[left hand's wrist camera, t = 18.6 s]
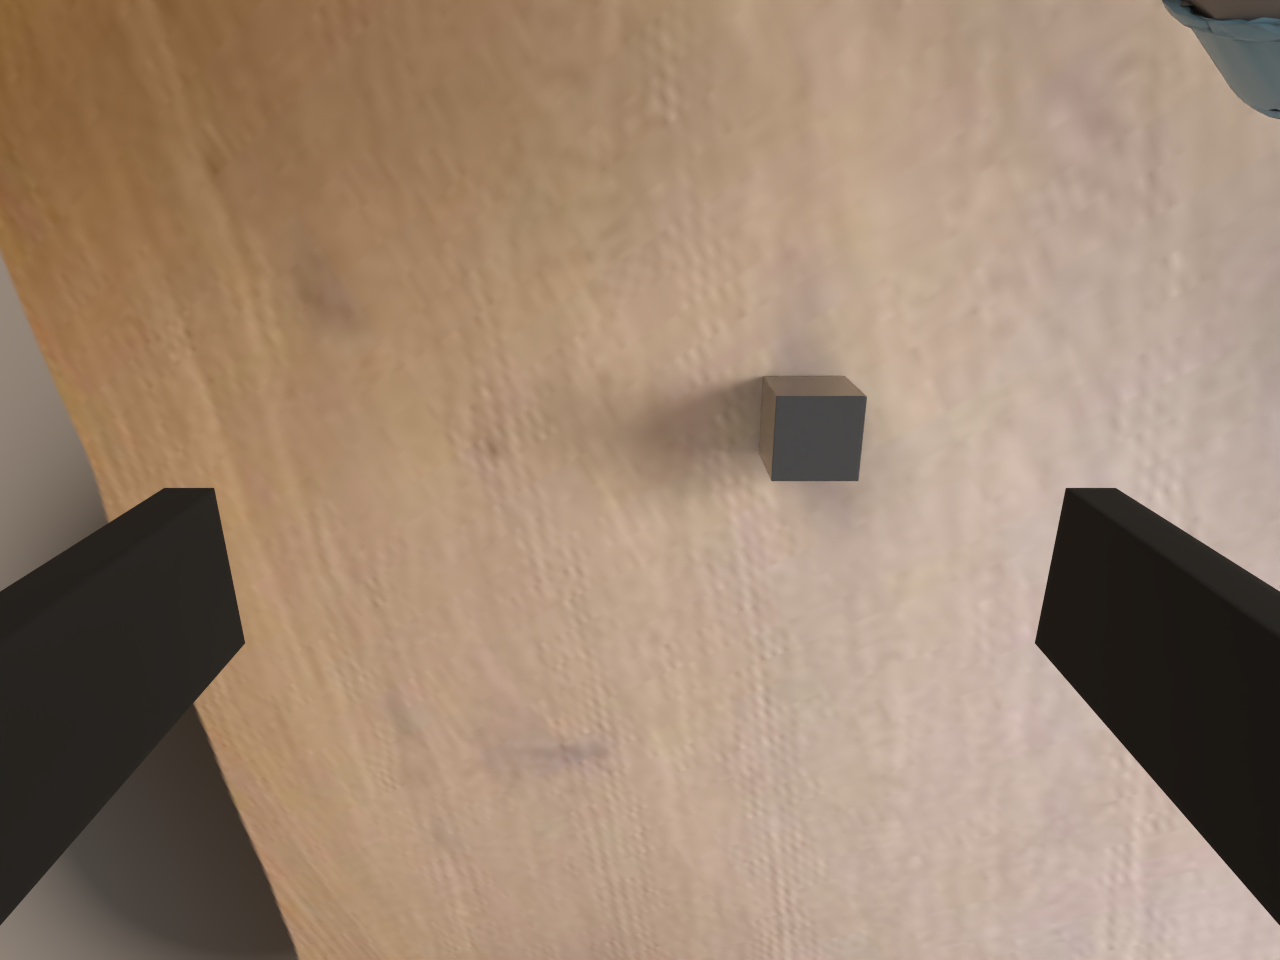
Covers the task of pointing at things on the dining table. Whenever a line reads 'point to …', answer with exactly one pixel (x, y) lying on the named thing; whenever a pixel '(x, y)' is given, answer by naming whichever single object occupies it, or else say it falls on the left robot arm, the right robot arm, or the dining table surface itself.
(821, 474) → the slate block
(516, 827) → the dining table surface
